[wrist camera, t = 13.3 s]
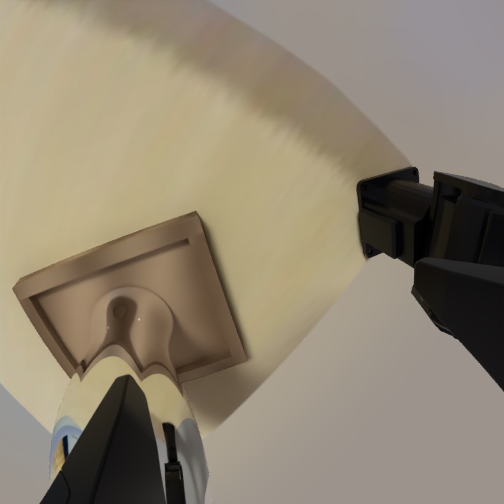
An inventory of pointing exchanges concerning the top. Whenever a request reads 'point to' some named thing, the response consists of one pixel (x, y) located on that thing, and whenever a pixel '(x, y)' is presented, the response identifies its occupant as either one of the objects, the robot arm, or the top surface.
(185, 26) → the top surface
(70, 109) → the top surface
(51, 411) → the top surface
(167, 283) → the walnut tray
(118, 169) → the top surface
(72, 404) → the silver metal tumbler
